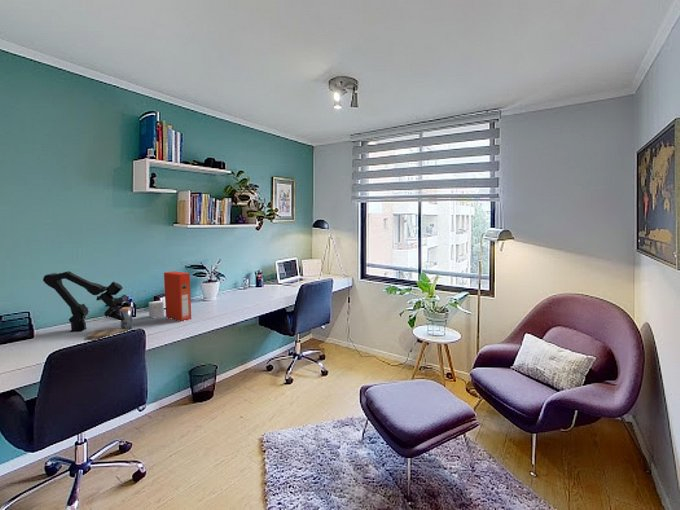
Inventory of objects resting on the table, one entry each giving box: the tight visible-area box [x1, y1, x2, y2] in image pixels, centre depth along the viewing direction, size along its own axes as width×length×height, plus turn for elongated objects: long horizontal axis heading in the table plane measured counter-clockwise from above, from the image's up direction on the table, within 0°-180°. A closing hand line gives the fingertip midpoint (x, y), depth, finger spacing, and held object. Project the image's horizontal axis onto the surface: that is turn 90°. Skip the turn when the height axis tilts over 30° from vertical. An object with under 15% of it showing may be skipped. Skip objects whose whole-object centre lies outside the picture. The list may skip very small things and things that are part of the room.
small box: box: [148, 300, 165, 319], centre depth 254 cm, size 8×6×10 cm
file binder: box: [163, 270, 192, 322], centre depth 249 cm, size 8×17×32 cm, turn 58°
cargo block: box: [120, 306, 132, 311], centre depth 224 cm, size 4×4×2 cm
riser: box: [86, 328, 130, 340], centre depth 213 cm, size 18×11×2 cm, turn 102°
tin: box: [119, 309, 133, 331], centre depth 225 cm, size 6×6×12 cm
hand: (127, 318), depth 225 cm, fingers open, 9 cm apart
